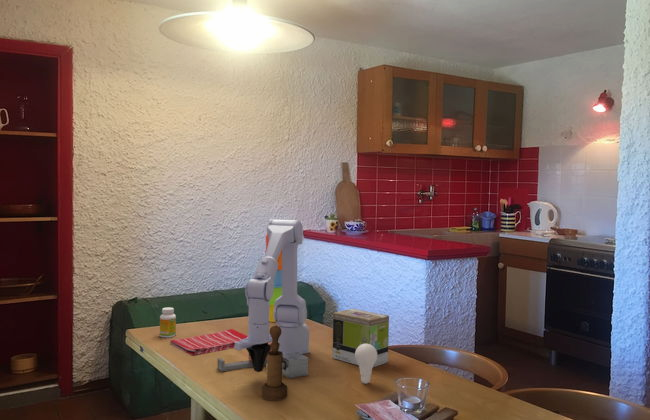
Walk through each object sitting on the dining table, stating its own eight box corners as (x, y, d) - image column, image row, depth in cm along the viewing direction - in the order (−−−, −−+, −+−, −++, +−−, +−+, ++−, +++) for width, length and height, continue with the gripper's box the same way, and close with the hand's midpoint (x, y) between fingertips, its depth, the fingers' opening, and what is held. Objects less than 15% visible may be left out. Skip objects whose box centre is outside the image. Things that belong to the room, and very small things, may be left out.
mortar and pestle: (266, 402, 140) (268, 330, 139) (257, 393, 145) (258, 324, 145) (291, 398, 143) (292, 327, 142) (281, 389, 148) (282, 322, 148)
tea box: (389, 362, 173) (390, 315, 173) (368, 369, 166) (369, 320, 165) (351, 352, 184) (352, 307, 183) (331, 358, 176) (332, 311, 176)
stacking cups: (281, 323, 219) (283, 234, 217) (259, 320, 223) (260, 233, 222) (294, 318, 228) (296, 233, 227) (272, 315, 232) (273, 231, 231)
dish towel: (256, 345, 191) (256, 337, 191) (192, 357, 176) (192, 349, 176) (231, 334, 204) (231, 327, 204) (169, 345, 189) (169, 337, 189)
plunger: (282, 368, 161) (283, 359, 161) (286, 371, 159) (287, 362, 159) (266, 371, 158) (266, 361, 158) (269, 373, 156) (270, 364, 156)
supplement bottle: (171, 338, 195) (171, 310, 194) (156, 337, 196) (157, 309, 196) (178, 334, 200) (178, 307, 200) (164, 333, 201) (164, 306, 201)
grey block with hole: (298, 368, 165) (298, 352, 165) (307, 375, 160) (308, 357, 160) (279, 371, 162) (279, 354, 162) (288, 378, 157) (289, 360, 157)
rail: (273, 360, 173) (274, 350, 173) (278, 363, 170) (278, 353, 170) (217, 368, 164) (217, 358, 164) (221, 371, 161) (221, 361, 161)
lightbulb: (370, 389, 150) (371, 348, 150) (350, 384, 153) (351, 344, 153) (380, 382, 155) (381, 343, 155) (360, 378, 159) (361, 339, 158)
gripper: (270, 315, 163) (269, 362, 164) (228, 323, 153) (227, 372, 153) (286, 320, 158) (285, 367, 159) (244, 328, 148) (243, 379, 148)
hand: (258, 370), depth 156 cm, fingers closed
